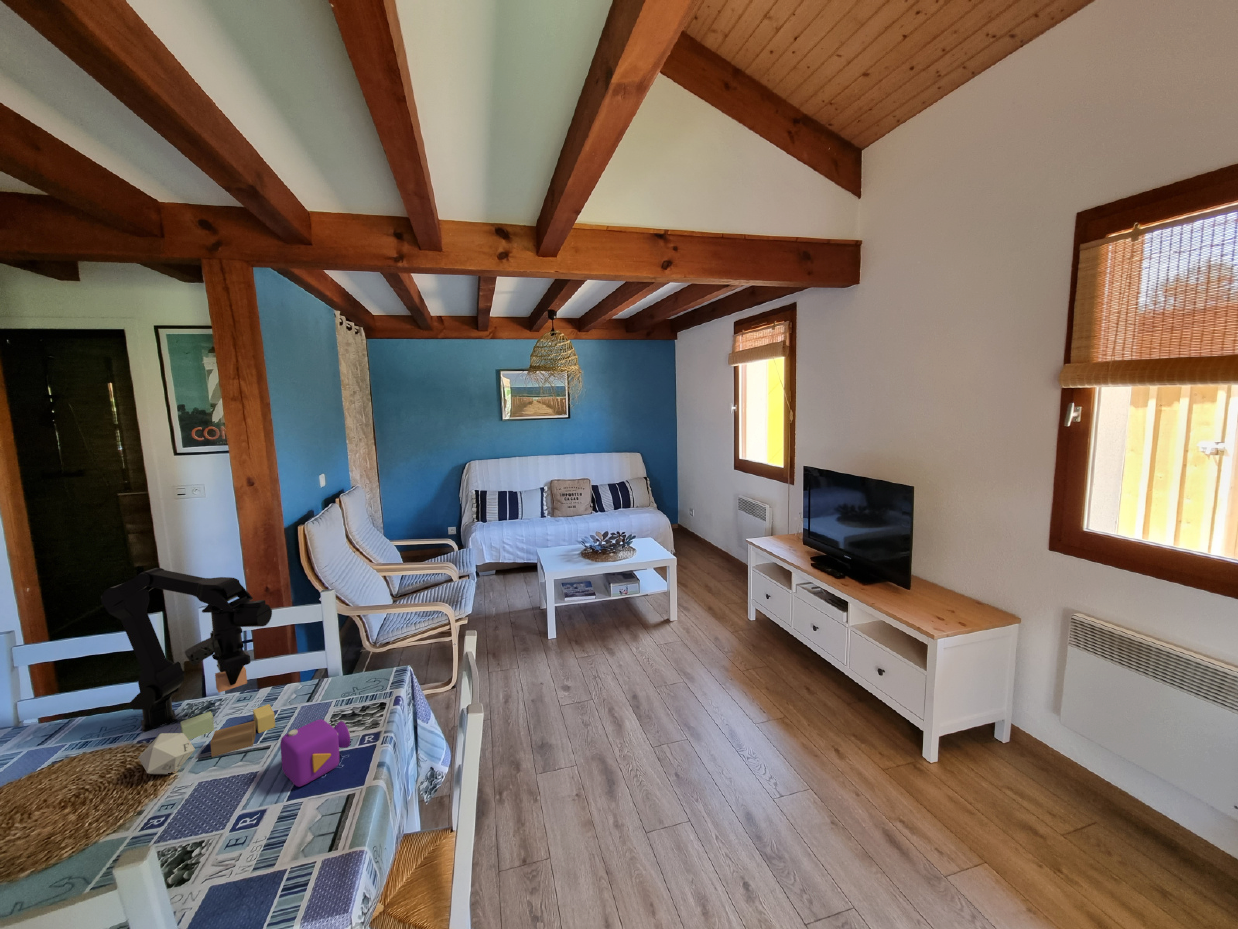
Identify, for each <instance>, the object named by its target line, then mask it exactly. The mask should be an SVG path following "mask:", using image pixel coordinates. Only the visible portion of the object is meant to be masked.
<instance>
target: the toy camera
mask: <svg viewBox="0 0 1238 929" xmlns="http://www.w3.org/2000/svg"><path fill="white" fill-rule="evenodd" d="M350 734H351V732H350V730H349V727H347V725H346V723H345V722H344V721H342V720H341V721H339V722H338V723H337V724H336V725H335V727H333V726H332V725H331V724H330V723H328V722H327V721H325V720H324V719H320V718H319V719H316V720H314V721H312V722H310V723H307V724H305V725H303V726H301V727H298V728H296V729H295V728H294V729H292V730H289V731H288V733H286V734H284V735H283V736H282V737H281V739H280V757H281V758H280V759H281V769H282V772H283V773H284V774H285V776H286V777H287V778H288V779H289V780H290V782H291V783H292V784H293V785H294V786H296V787H297V788H298V787H300V788H301V787H302V786H305V785H307V784H309V783H311V782H313V781H314V780H317V779H319V778H320V777H321V776H323V775H325V774H327V773H329V772H330V771H332V770H334V769H335V768H337V766H339V764H340V748H342V749H347V748H349V747H350V745H351V736H350Z"/></svg>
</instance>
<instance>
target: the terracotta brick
mask: <svg viewBox="0 0 1238 929" xmlns="http://www.w3.org/2000/svg"><path fill="white" fill-rule="evenodd" d="M214 675H215V676H214V679H215V687H216V690H217V691H218V693H222V692H223V693H224V692H225V691H229V690H232V689H234V688H237V687H240V686H243V685H246V684H248V679H247V678H248V676H247V669H246V667H245V665H244V666H243V668H242V670H241V672H240V675H239V677H238V679H237V681H236V684H234V685H230V683H229V680H228V678H227V675H226V672H220V671H219V672H215V673H214Z"/></svg>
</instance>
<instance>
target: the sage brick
mask: <svg viewBox="0 0 1238 929" xmlns="http://www.w3.org/2000/svg"><path fill="white" fill-rule="evenodd" d="M214 724H215V723H214V716H213V714H212V712H211V710H210V711H207V712H205V713H202V714H201V713H200V714H199V715H197V716H193V717H191V718H188V719H185V720H182V721H180V733H183V734H185V735H186V737H187V738H188V740H189V741H191V740H193V739H196V738H199V737H201V736H203V735H206V734H209V733H212V732H215V725H214Z"/></svg>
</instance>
